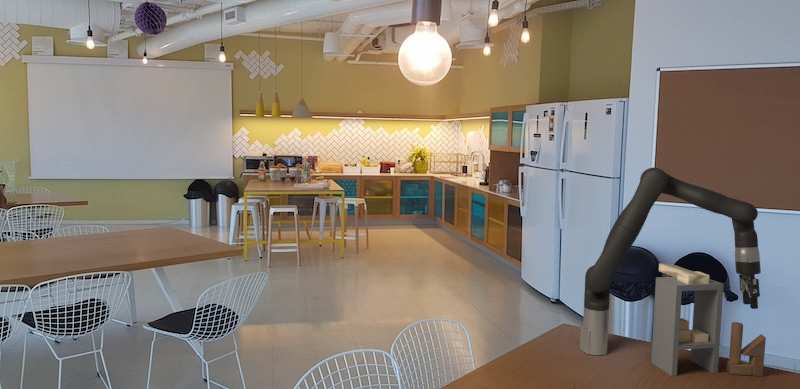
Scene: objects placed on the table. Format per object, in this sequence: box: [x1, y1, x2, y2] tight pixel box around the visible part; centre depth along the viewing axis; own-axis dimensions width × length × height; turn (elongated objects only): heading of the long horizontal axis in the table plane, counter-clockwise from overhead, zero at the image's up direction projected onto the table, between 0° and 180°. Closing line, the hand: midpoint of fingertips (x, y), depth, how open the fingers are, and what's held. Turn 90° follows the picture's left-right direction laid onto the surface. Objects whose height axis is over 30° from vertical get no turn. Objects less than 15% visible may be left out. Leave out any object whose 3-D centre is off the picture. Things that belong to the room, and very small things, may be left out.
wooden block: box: [726, 321, 767, 377], centre depth 210 cm, size 4×11×18 cm, turn 82°
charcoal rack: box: [650, 276, 725, 377], centre depth 214 cm, size 18×12×32 cm, turn 100°
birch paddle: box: [658, 262, 710, 284], centre depth 217 cm, size 8×20×3 cm, turn 10°
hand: (750, 306), depth 209 cm, fingers open, 8 cm apart
